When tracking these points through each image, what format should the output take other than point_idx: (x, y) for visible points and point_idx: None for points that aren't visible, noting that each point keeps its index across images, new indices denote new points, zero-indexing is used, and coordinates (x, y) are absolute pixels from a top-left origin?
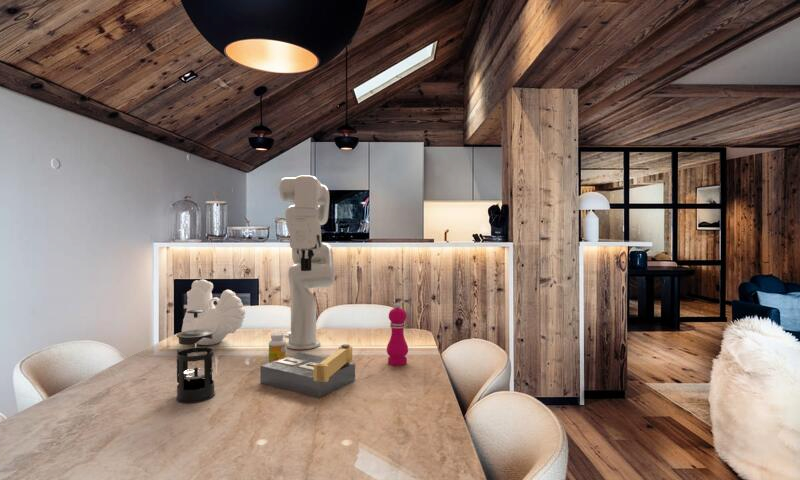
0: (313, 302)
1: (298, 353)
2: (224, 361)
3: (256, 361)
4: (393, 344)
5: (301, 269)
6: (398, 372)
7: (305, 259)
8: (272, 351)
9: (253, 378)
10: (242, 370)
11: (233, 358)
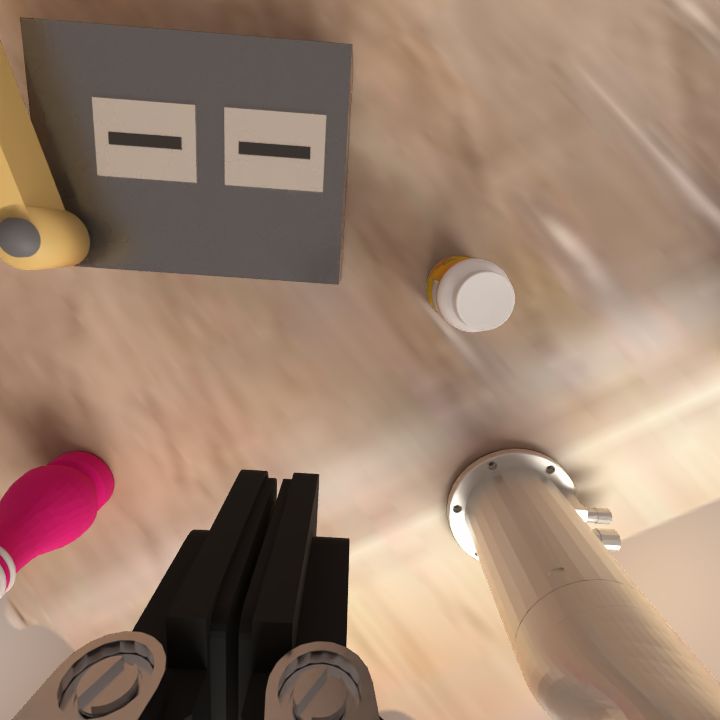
0: (522, 658)
1: (332, 270)
2: (662, 206)
3: (543, 266)
4: (25, 490)
5: (305, 478)
6: (18, 397)
7: (171, 627)
8: (464, 257)
9: (412, 99)
10: (516, 153)
11: (655, 253)
